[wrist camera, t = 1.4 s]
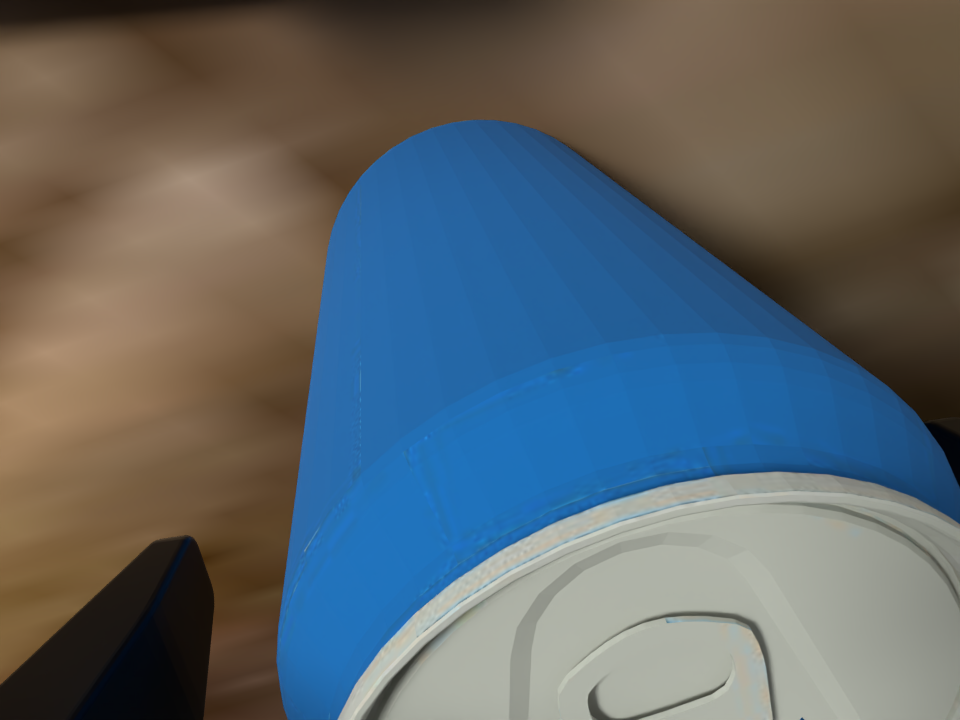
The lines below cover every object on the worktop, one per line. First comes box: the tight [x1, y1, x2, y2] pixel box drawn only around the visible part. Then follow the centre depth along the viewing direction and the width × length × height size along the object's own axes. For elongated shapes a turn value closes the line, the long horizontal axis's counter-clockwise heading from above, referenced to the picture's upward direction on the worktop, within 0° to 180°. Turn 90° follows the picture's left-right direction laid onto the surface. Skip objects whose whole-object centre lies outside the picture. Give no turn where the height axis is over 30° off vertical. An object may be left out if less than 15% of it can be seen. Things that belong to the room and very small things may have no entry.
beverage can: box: [277, 120, 960, 720], centre depth 11 cm, size 6×6×12 cm
